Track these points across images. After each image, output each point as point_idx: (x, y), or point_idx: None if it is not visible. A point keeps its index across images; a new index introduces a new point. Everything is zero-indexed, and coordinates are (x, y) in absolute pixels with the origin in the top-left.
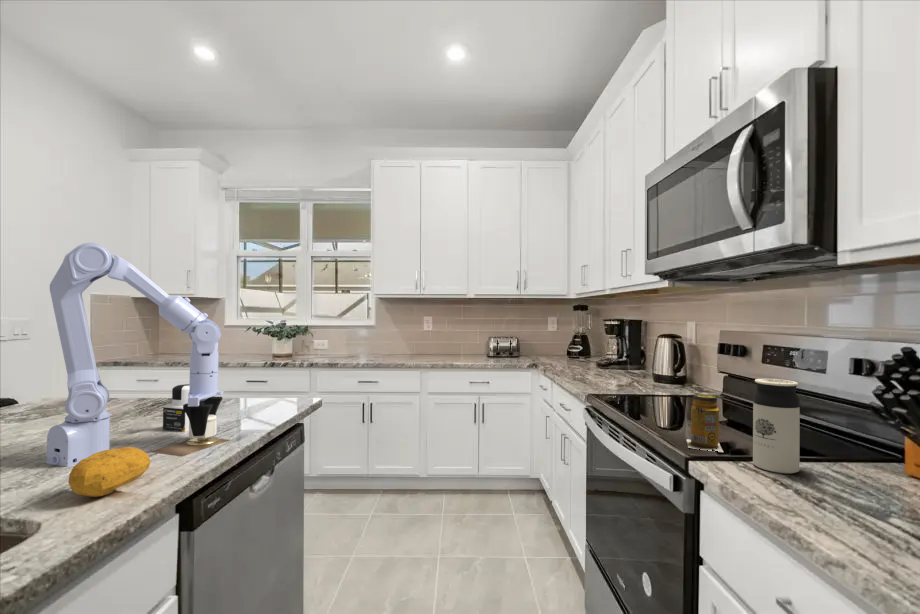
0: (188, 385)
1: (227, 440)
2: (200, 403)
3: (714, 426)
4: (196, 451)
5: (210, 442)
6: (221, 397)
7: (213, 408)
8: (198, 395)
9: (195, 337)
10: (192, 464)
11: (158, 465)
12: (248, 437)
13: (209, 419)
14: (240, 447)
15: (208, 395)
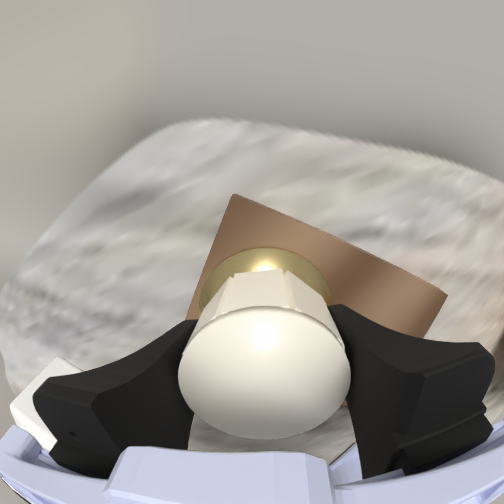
0: (28, 500)
1: (242, 207)
2: (487, 426)
3: None
4: (406, 274)
5: (309, 265)
6: (51, 398)
7: (152, 388)
8: (491, 495)
9: None
10: (461, 243)
11: (443, 336)
12: (111, 169)
13: (328, 331)
14: (273, 135)
15: (482, 475)
